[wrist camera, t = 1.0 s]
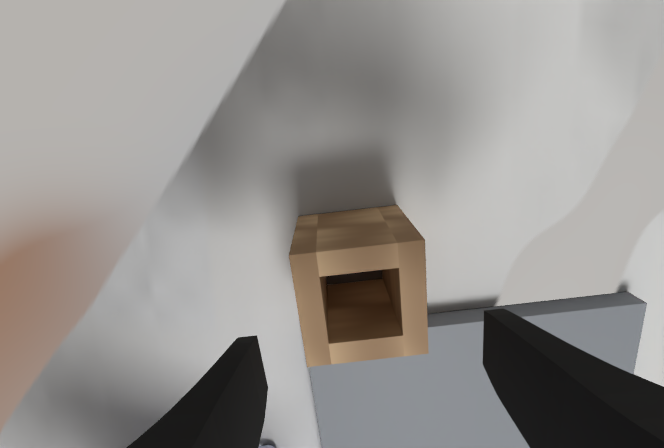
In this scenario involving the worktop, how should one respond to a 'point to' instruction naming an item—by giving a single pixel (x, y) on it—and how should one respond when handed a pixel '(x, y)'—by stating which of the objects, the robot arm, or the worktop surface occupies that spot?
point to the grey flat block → (460, 378)
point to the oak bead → (360, 286)
